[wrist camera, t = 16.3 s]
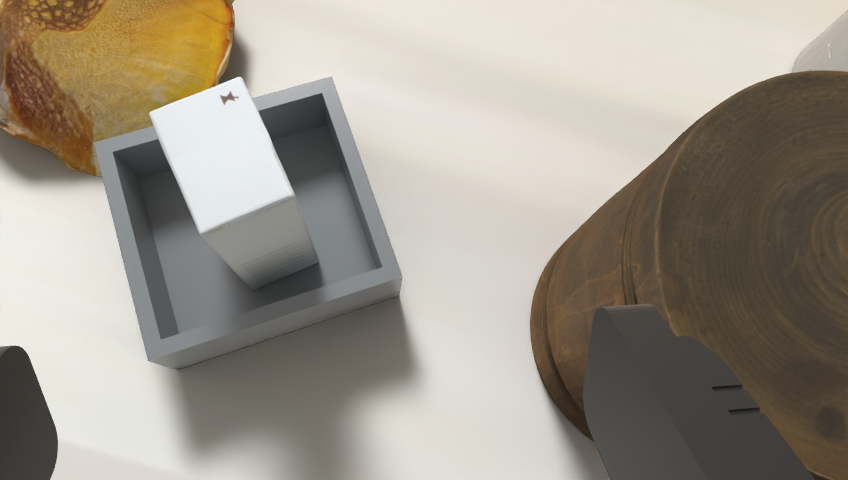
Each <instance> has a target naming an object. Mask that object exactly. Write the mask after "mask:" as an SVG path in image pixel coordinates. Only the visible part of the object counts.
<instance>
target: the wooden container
mask: <svg viewBox="0 0 848 480" xmlns="http://www.w3.org/2000/svg"><path fill="white" fill-rule="evenodd" d="M637 304H651V305H653V306H654V307H655V308H656V309H657V310H658V312H659V313H660V315H661V316H662V318H663V319H664V320H665V322H666V323H667V325H668V326H669V327H670V329H671V330H672V332H673V333H674V335H675V336H676V337H678V336H692V337H693V338H694V339H696V340H697V341H699V342H700V343H702V344H703V345H704V346H706V347H707V348H709V349H710V350H712V351H713V352H714V353H716V354H717V355H719V356H720V357H722V359H723V360H724V361H725V363H726V364H727V365H728V366H729V368H730V369H731V370H732V372H733V373H734V374H735V376H736V377H737V378H738V379H739V381H740V382H741V383H742V388H743V390H747V391H748V393H749V394H750V395H751V396H752V398H753V399H754V400H755V402H756V403H757V404H758V406H759V407H760V412H761V414H762V413H765V415H766V416H767V417H768V419H769V420H770V421H771V422H772V424H773V425H774V426H775V428H776V429H777V430H778V432H779V433H780V434H781V436H782V437H783V438H784V439H785V441H786V442H787V443H788V445H789V446H790V447H791V449H792V450H793V451H794V452H795V454H796V455H797V456H798V458H799V459H800V460H801V462H802V463H803V464H804V466H805V467H806V468H807V469H808V471H809V472H810V473H811V475H812V476H813V477H814V479H815V480H848V72H845V71H832V70H817V71H803V72H795V73H789V74H785V75H780V76H777V77H773V78H770V79H767V80H765V81H762V82H759V83H756V84H754V85H752V86H750V87H747V88H745V89H743V90H742V91H740V92H738V93H736V94H734V95H733V96H731V97H730V98H728V99H726V100H725V101H723V102H722V103H720V104H719V105H717V106H716V107H715V108H713V109H712V110H710V111H709V112H708V113H706V114H705V115H704V116H702V117H701V118H700V119H699V120H697V121H696V122H695V123H694V124H693V125H691V126H690V127H689V128H688V129H687V130H686V131H685V132H683V133H682V134H681V135H680V136H679V137H678V138H677V139H676V140H675V141H674V142H673V143H672V144H671V145H670V146H669V147H668V149H667V150H666V151H665V152H664V153H663V154H662V155H660V156H659V157H658V158H657V159H656V160H655V161H654V162H653V163H651V164H650V165H649V166H648V167H647V168H646V169H645V170H643V171H642V172H641V173H640V174H639V175H638V176H637V177H636V178H634V179H633V180H632V181H631V182H630V183H628V184H627V185H626V186H625V187H624V188H622V189H621V190H620V191H619V192H617V193H616V194H615V195H614V196H613V197H611V198H610V199H609V200H608V201H607V202H606V203H605V204H604V205H603V206H601V207H600V208H599V209H598V210H597V211H596V212H595V213H594V214H593V215H592V216H591V217H590V218H589V219H588V220H587V221H586V222H585V223H584V224H583V225H582V226H581V227H580V228H579V229H578V230H576V231H575V232H574V233H573V234H572V235H571V236H570V237H569V238H568V239H567V240H566V241H565V242H564V243H563V245H562V246H561V247H560V248H559V249H558V250H557V251H556V252H555V254H554V255H553V256H552V258H551V259H550V261H549V262H548V264H547V265H546V267H545V269H544V271H543V272H542V274H541V277H540V279H539V281H538V284H537V287H536V290H535V293H534V297H533V302H532V308H531V318H530V330H531V342H532V348H533V353H534V357H535V361H536V364H537V367H538V370H539V372H540V375H541V378H542V380H543V382H544V384H545V386H546V388H547V390H548V392H549V394H550V395H551V397H552V399H553V400H554V402H555V403H556V405H557V406H558V408H559V409H560V410H561V411H562V413H563V414H564V415H565V416H566V418H567V419H568V420H569V421H570V422H571V423H572V424H573V425H574V426H575V427H577V428H578V429H579V430H580V431H581V432H582V433H583V434H585V435H586V436H587V437H589V438H590V439H591V440H593V441H594V439H593V437H592V435H591V432H590V430H589V427H588V424H587V420H586V416H585V410H584V402H583V387H584V379H585V372H586V365H587V358H588V351H589V344H590V337H591V330H592V323H593V318H594V314H595V312H596V310H597V309H598V308H599V307H608V306H623V305H637Z"/></svg>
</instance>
